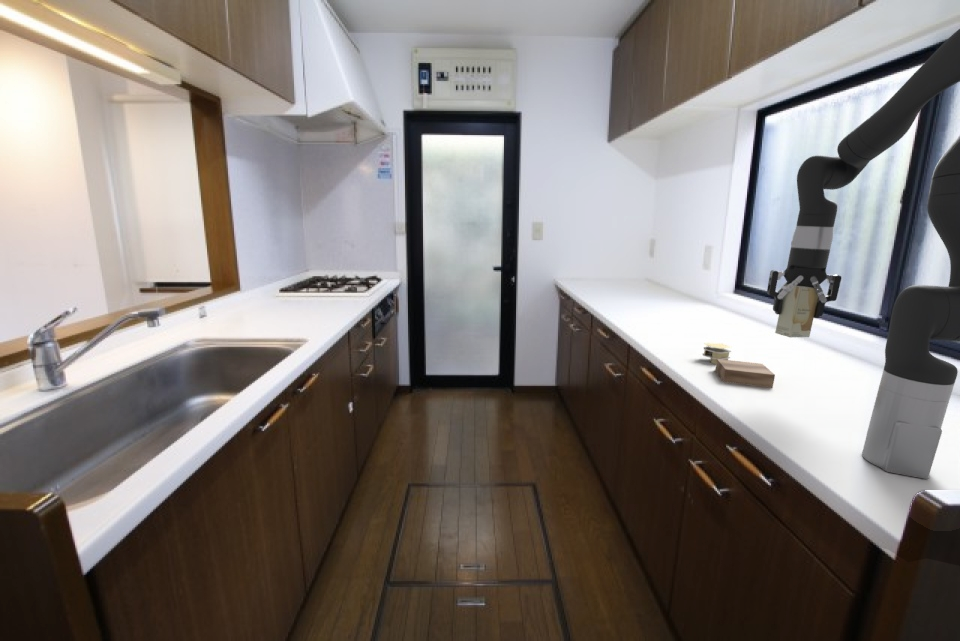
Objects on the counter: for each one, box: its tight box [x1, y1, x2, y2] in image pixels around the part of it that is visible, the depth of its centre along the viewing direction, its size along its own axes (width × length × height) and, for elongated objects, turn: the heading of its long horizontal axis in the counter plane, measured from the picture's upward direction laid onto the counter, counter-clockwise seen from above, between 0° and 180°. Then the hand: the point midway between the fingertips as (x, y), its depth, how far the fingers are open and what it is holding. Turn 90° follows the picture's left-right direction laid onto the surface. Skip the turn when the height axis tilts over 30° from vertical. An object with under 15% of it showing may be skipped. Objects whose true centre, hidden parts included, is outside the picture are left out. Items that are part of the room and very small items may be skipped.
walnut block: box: [714, 359, 776, 389], centre depth 127 cm, size 10×12×4 cm
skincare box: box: [774, 285, 818, 339], centre depth 109 cm, size 6×4×12 cm
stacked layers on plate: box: [702, 342, 732, 365], centre depth 142 cm, size 10×9×6 cm
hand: (796, 315), depth 109 cm, fingers closed on skincare box, 7 cm apart
